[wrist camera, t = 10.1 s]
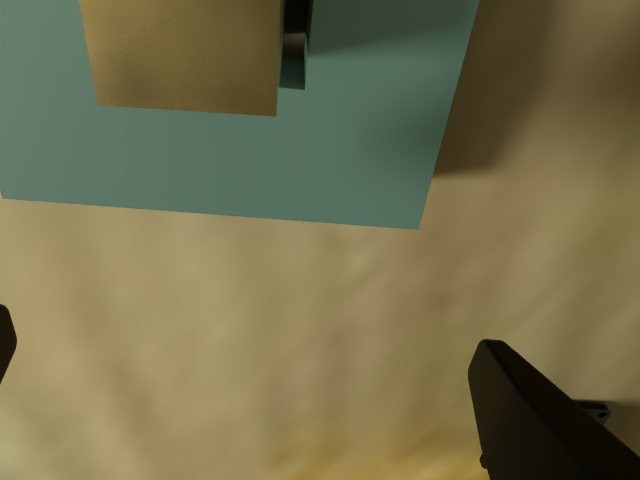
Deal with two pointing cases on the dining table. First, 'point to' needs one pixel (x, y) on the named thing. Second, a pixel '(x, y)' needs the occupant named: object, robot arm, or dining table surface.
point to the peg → (186, 54)
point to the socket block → (242, 120)
